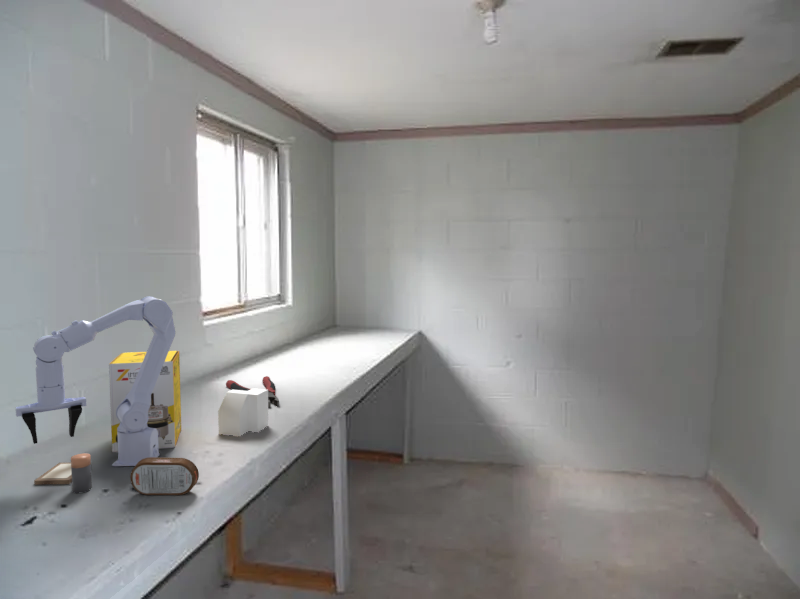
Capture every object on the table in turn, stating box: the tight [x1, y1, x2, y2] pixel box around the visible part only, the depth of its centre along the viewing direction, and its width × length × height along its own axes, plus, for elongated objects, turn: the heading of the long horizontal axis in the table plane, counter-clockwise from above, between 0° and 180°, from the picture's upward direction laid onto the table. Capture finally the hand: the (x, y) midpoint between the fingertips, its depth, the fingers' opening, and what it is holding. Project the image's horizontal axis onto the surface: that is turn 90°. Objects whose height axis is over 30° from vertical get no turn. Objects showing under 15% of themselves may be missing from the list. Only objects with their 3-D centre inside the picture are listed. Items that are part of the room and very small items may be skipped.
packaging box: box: [108, 350, 182, 453], centre depth 162 cm, size 16×16×25 cm
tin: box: [129, 457, 200, 496], centre depth 128 cm, size 15×3×8 cm, turn 92°
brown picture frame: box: [33, 461, 72, 486], centre depth 138 cm, size 8×11×1 cm
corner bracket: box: [217, 387, 269, 437], centre depth 172 cm, size 11×11×12 cm
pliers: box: [225, 375, 280, 409], centre depth 213 cm, size 37×18×3 cm, turn 29°
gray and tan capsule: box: [70, 452, 93, 494], centre depth 130 cm, size 4×4×8 cm
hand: (53, 439), depth 136 cm, fingers open, 7 cm apart
